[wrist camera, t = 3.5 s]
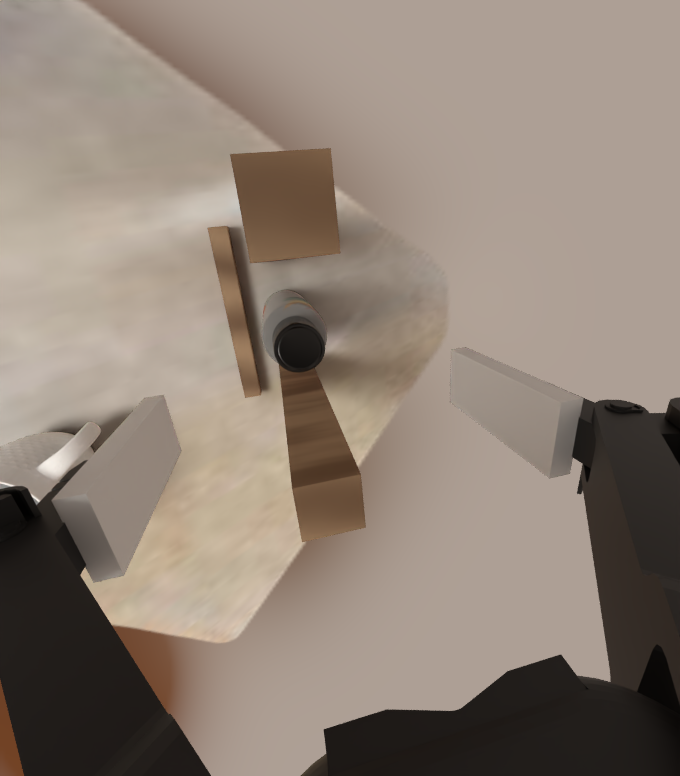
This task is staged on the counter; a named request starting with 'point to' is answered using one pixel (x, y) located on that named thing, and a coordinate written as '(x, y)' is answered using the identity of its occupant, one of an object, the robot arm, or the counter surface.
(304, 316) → the lotion bottle
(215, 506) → the counter surface
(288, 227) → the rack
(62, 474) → the mug
